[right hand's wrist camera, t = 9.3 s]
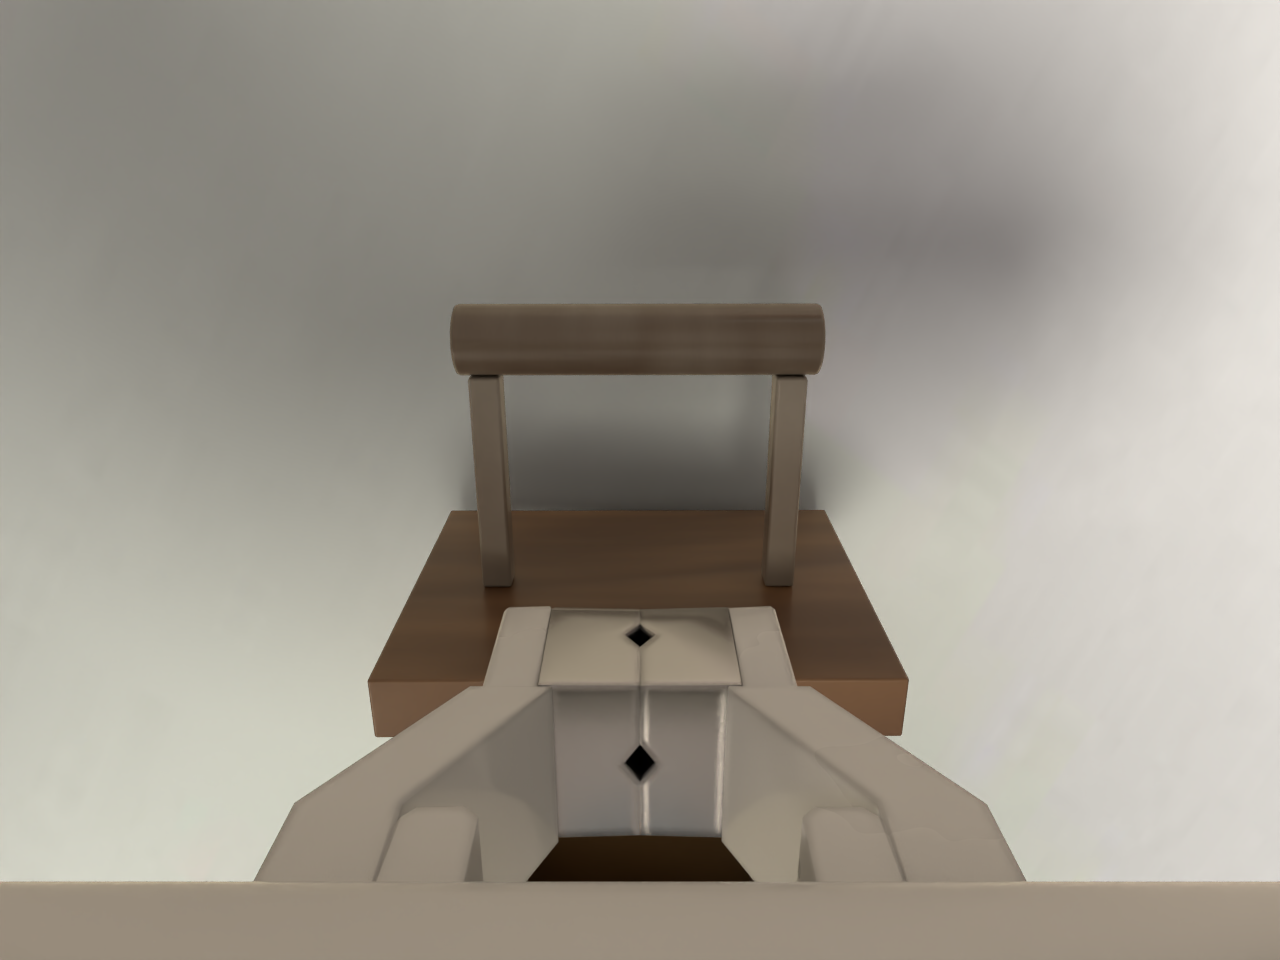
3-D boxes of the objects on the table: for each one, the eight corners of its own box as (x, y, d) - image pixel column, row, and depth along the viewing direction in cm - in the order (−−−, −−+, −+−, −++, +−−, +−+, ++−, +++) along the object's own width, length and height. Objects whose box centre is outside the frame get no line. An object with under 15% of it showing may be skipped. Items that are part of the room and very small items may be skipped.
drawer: (430, 274, 20) (321, 348, 13) (844, 273, 20) (952, 347, 13) (499, 1071, 29) (457, 1357, 22) (778, 1070, 29) (821, 1355, 23)
